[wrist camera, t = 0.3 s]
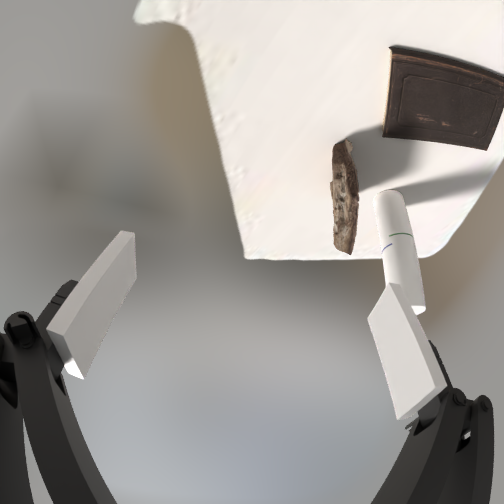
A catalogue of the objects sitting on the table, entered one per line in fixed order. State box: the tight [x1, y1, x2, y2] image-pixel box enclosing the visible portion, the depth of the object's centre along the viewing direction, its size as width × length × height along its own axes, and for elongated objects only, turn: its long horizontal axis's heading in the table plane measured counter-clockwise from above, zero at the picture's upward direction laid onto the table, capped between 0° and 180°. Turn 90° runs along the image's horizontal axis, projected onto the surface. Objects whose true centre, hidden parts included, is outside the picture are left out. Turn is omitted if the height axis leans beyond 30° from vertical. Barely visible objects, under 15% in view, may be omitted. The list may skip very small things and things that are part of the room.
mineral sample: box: [330, 139, 359, 255], centre depth 45 cm, size 17×4×15 cm, turn 12°
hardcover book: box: [382, 47, 504, 151], centre depth 30 cm, size 16×23×2 cm
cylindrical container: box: [373, 190, 426, 315], centre depth 48 cm, size 7×7×25 cm
